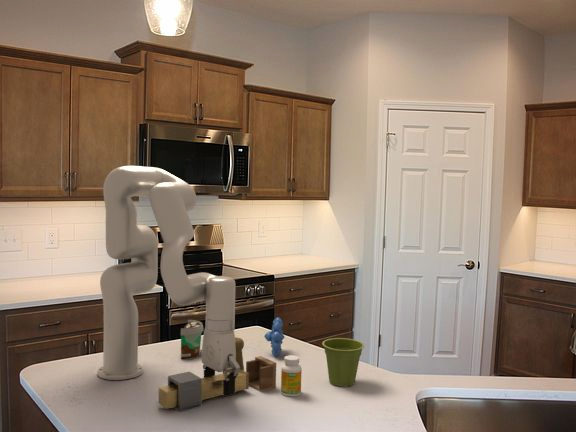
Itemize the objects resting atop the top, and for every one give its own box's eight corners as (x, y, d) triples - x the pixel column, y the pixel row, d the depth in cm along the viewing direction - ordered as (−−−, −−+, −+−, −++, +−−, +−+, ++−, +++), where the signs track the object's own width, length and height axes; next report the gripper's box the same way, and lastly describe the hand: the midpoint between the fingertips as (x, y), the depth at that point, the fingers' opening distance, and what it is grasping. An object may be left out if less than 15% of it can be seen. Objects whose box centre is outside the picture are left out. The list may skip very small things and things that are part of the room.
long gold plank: (158, 403, 139) (158, 387, 139) (239, 384, 154) (240, 369, 154) (166, 409, 136) (166, 392, 136) (248, 388, 151) (248, 373, 151)
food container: (199, 361, 176) (200, 329, 176) (180, 360, 176) (180, 328, 176) (206, 349, 189) (206, 320, 188) (187, 349, 189) (188, 319, 188)
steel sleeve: (167, 403, 142) (167, 375, 142) (188, 398, 146) (189, 371, 145) (179, 411, 137) (180, 383, 137) (201, 406, 141) (201, 378, 140)
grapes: (265, 348, 191) (266, 313, 191) (285, 349, 191) (286, 314, 190) (261, 359, 180) (262, 322, 179) (282, 360, 179) (283, 323, 179)
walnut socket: (245, 383, 157) (246, 359, 157) (260, 380, 160) (260, 356, 160) (260, 391, 152) (261, 366, 151) (275, 387, 155) (276, 362, 154)
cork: (241, 380, 160) (242, 341, 160) (220, 378, 161) (221, 340, 161) (247, 373, 166) (247, 336, 166) (227, 371, 167) (228, 334, 167)
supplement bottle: (286, 398, 148) (287, 361, 147) (277, 391, 152) (278, 355, 152) (304, 395, 150) (305, 359, 150) (295, 388, 155) (295, 353, 154)
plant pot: (312, 382, 160) (313, 343, 159) (338, 373, 169) (339, 335, 168) (346, 393, 152) (347, 352, 151) (371, 383, 161) (372, 344, 160)
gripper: (191, 319, 151) (189, 382, 152) (225, 333, 138) (224, 402, 139) (215, 316, 156) (214, 377, 157) (251, 329, 142) (249, 396, 143)
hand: (218, 389), depth 148 cm, fingers open, 9 cm apart
